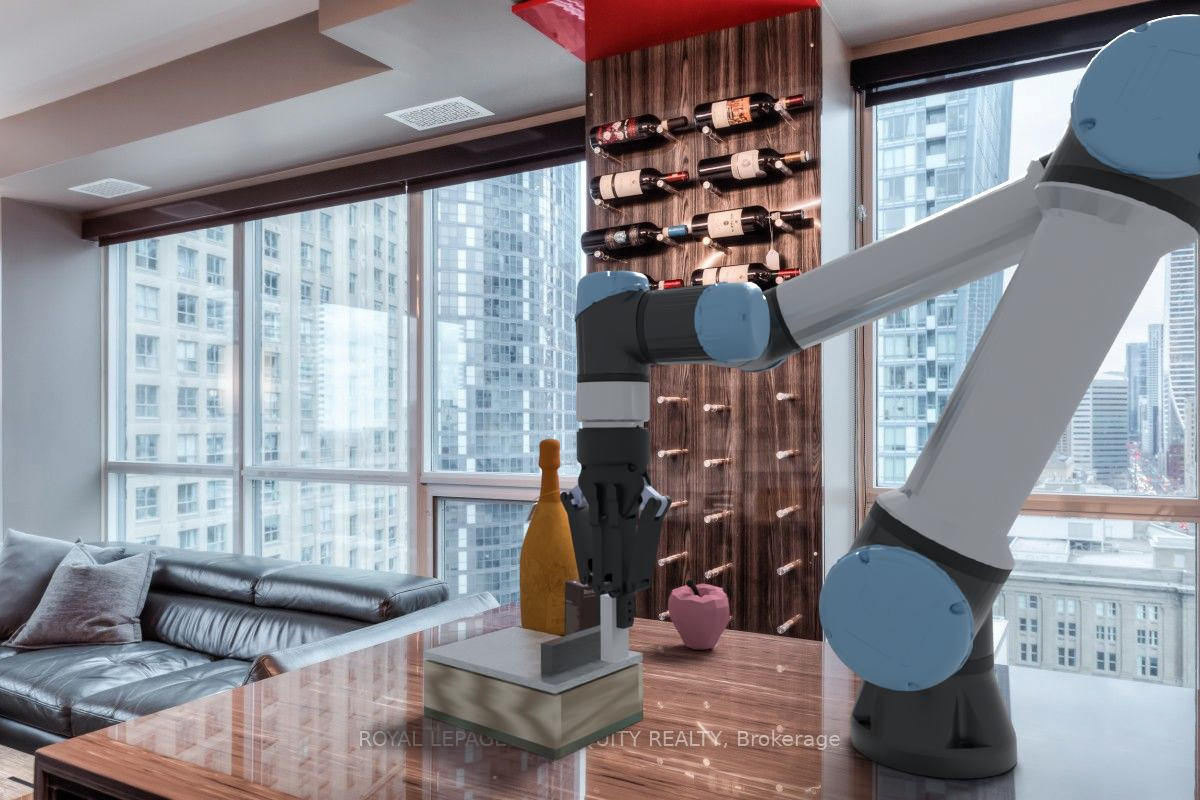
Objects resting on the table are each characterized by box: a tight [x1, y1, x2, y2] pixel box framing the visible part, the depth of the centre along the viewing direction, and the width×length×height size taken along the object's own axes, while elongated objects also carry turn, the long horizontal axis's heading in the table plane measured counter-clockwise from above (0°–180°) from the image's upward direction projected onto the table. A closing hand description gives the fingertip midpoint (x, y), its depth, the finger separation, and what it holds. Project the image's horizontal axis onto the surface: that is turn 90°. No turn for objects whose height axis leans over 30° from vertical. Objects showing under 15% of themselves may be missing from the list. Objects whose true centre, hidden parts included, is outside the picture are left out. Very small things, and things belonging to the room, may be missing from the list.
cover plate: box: [423, 625, 644, 694], centre depth 91 cm, size 20×14×4 cm
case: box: [423, 659, 644, 761], centre depth 91 cm, size 20×14×6 cm
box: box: [563, 579, 601, 636], centre depth 106 cm, size 6×4×12 cm
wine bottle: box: [519, 438, 579, 636], centre depth 130 cm, size 10×10×30 cm
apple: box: [667, 579, 731, 651], centre depth 118 cm, size 10×9×10 cm
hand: (615, 658), depth 83 cm, fingers closed
